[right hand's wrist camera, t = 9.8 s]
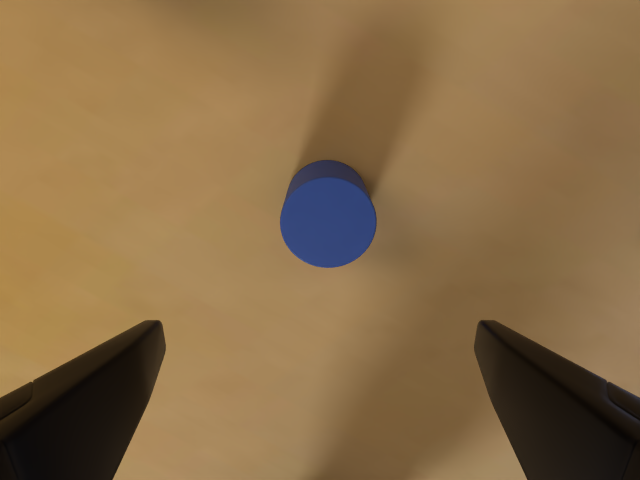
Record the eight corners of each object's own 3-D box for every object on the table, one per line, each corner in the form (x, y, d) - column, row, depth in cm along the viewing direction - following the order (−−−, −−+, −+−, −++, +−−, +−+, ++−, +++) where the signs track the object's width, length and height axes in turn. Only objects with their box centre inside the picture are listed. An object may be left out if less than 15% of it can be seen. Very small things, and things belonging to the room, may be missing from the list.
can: (292, 153, 21) (286, 169, 18) (374, 166, 22) (386, 185, 18) (282, 231, 23) (274, 261, 19) (358, 242, 23) (366, 274, 19)
